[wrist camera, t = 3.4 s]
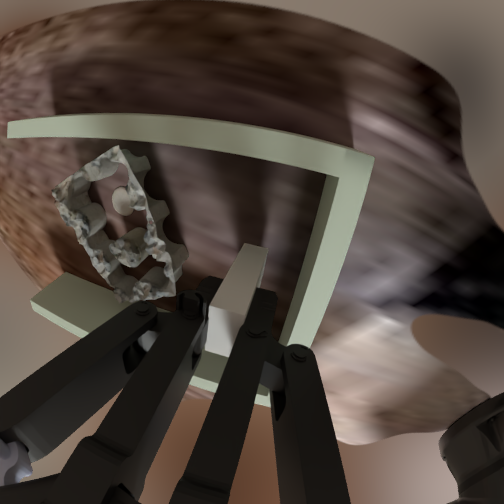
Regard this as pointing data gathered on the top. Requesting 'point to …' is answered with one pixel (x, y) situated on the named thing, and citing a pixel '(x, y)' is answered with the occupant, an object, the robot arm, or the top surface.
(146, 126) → the u-shaped frame
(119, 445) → the robot arm
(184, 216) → the top surface
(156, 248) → the egg carton
